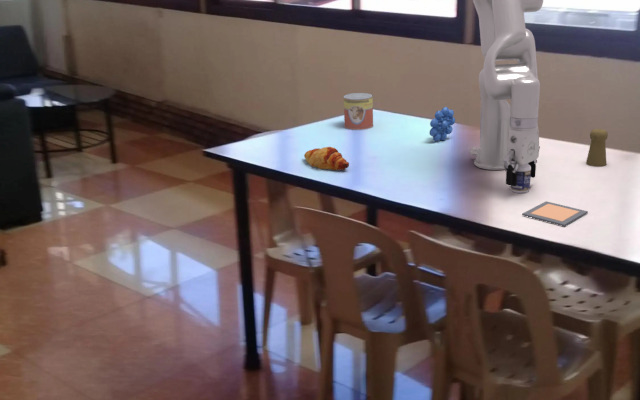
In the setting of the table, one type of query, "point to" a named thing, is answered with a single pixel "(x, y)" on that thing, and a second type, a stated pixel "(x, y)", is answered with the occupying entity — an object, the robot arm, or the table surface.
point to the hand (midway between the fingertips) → (520, 180)
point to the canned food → (358, 111)
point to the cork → (597, 148)
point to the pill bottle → (522, 179)
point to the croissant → (326, 159)
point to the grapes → (442, 124)
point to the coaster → (555, 213)
